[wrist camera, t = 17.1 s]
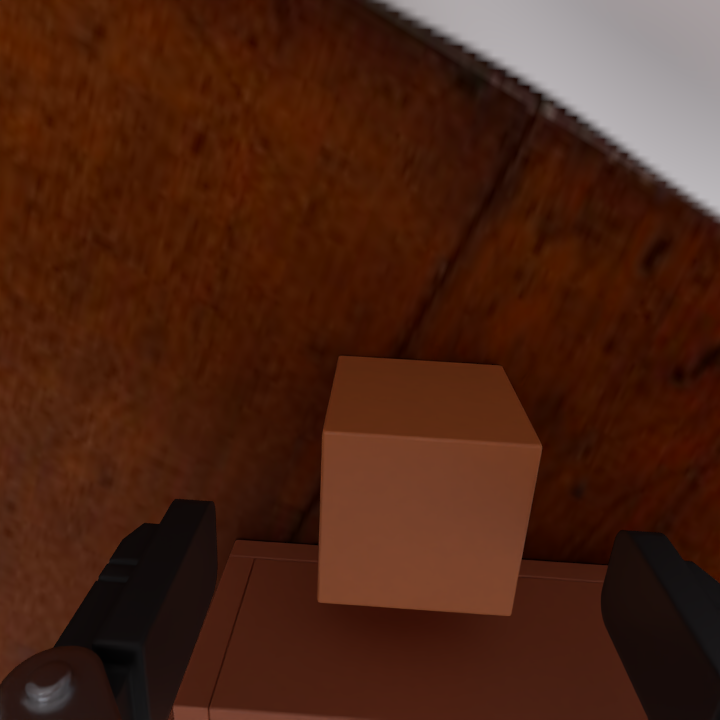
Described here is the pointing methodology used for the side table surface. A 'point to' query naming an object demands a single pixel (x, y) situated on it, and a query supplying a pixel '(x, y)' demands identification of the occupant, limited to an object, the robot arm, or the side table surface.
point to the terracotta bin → (400, 651)
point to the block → (424, 486)
